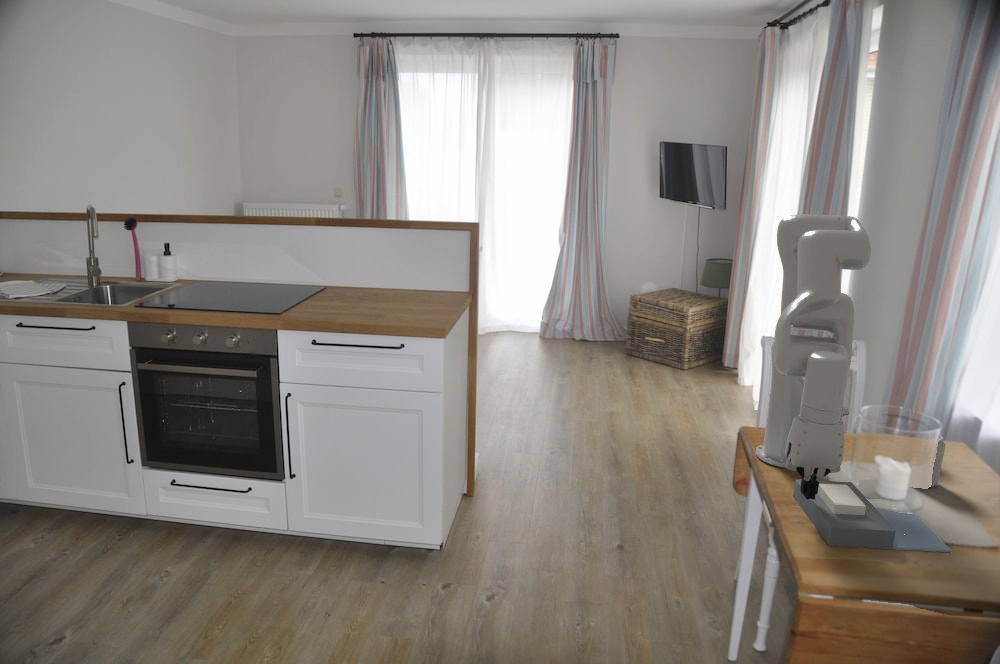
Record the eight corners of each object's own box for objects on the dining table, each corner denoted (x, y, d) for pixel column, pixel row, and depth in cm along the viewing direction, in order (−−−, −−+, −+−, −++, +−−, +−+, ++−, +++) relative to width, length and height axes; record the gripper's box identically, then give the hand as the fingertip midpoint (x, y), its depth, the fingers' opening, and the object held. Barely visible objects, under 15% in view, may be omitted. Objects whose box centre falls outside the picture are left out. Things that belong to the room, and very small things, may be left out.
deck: (793, 495, 154) (795, 479, 153) (848, 498, 153) (851, 482, 152) (828, 545, 135) (831, 527, 134) (892, 549, 134) (895, 530, 133)
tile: (816, 492, 148) (818, 483, 147) (845, 493, 147) (847, 484, 147) (833, 513, 139) (835, 504, 138) (864, 515, 138) (866, 506, 138)
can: (942, 491, 158) (952, 442, 154) (906, 487, 159) (915, 439, 156) (929, 476, 165) (939, 429, 162) (895, 473, 166) (904, 426, 163)
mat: (848, 498, 153) (849, 497, 153) (900, 501, 153) (900, 499, 153) (892, 549, 134) (892, 547, 134) (951, 552, 133) (951, 550, 133)
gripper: (851, 408, 141) (838, 489, 146) (776, 404, 142) (765, 485, 147) (867, 422, 134) (852, 507, 139) (788, 418, 135) (776, 503, 140)
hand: (808, 496), depth 143 cm, fingers closed
